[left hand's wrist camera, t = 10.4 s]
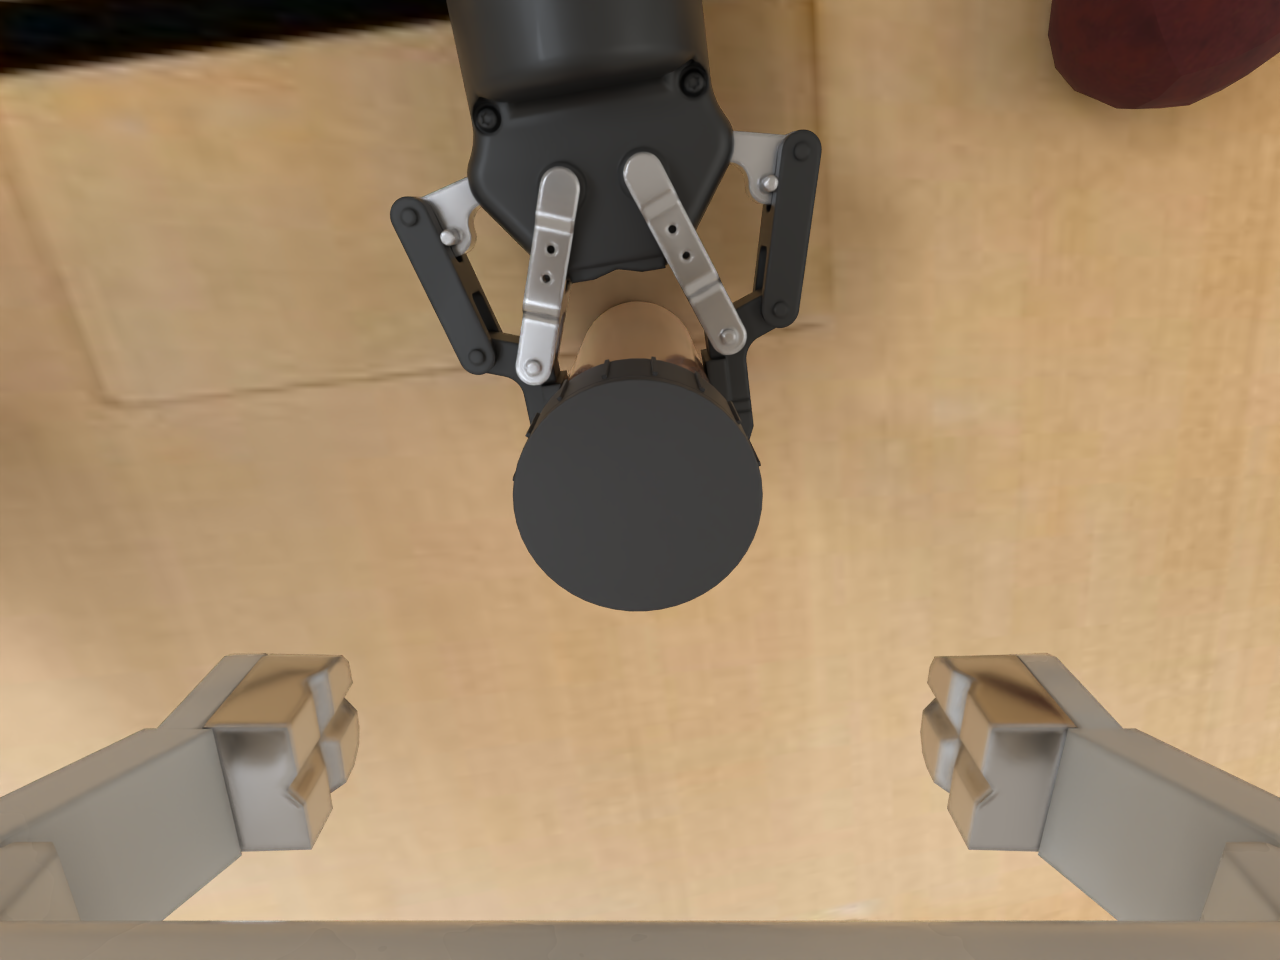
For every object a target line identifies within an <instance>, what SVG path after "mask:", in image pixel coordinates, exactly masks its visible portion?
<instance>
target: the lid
mask: <svg viewBox="0 0 1280 960" xmlns="http://www.w3.org/2000/svg"><path fill="white" fill-rule="evenodd" d="M741 423H742V422H741V420H740V418H739V416H738V414H737V411H736V409H735V407H734V405H733V403H732V402H731V400H730V401H728V402H727V401H726V399H725V398H724V397H723V396H722V395H721V394H720V393H719V392H718V391H717V390H716V388H715V387H714V386H712V385H711V384H710V383H708V382H707V381H706V380H705V379H703V378H702V377H701V376H700V373H699V372H697V371H695V373H693V372H692V371H690V370H688V369H685V368H683V367H680V366H678V365H676V364H672V363H668V362H665V361H661V360H656V357H651V359H646V358H629V359H622V360H615V361H611V362H610V361H609V359H607V360H605V362H604V363H603V364H600V365H597V366H595V367H593V368H590V369H588V370H586V371H584V372H582V373H581V374H579V375H577V376H575V377H574V378H572V379H571V380H570V381H568V379H566V380H565V381H564V382H563V384H562V387H561V388H560V389H559V390H558V391H557V392H556V393H555V394H554V395H553V396H552V397H551V399H550V400H549V401H548V403H547V404H546V405H545V407H544V408H543V410H542V411H541V413H538V412H537V413H536V415H535V417H534V419H533V421H532V423H531V425H530V427H529V430H528V432H527V434H526V437H528V440H527V442H526V444H525V446H524V448H523V450H522V453H521V456H520V458H519V461H518V464H517V468H516V472H515V474H514V476H513V481H514V486H513V505H514V513H515V518H516V523H517V526H518V529H519V532H520V535H521V537H522V540H523V542H524V544H525V545H526V547H527V549H528V551H529V553H530V554H531V556H532V557H533V559H534V560H535V562H536V563H537V564H538V565H539V567H540V568H541V569H542V570H543V571H544V572H545V573H546V574H547V575H548V576H549V577H550V578H551V579H552V580H553V581H555V582H556V583H557V584H558V585H559V586H561V587H562V588H564V589H565V590H567V591H568V592H570V593H571V594H573V595H575V596H577V597H579V598H581V599H583V600H585V601H588V602H590V603H593V604H596V605H599V606H602V607H607V608H611V609H615V610H624V611H651V610H660V609H665V608H669V607H673V606H677V605H680V604H682V603H685V602H688V601H690V600H692V599H694V598H696V597H698V596H700V595H702V594H704V593H706V592H707V591H709V590H710V589H712V588H713V587H715V586H716V585H717V584H719V583H720V582H721V581H722V580H723V579H724V578H726V577H727V576H728V575H729V574H730V573H731V572H732V570H733V569H734V568H735V567H736V566H737V565H738V564H739V562H740V561H741V559H742V558H743V556H744V555H745V554H746V552H747V550H748V548H749V546H750V544H751V543H752V541H753V539H754V536H755V533H756V530H757V527H758V525H759V520H760V515H761V510H762V497H763V492H762V479H761V475H760V470H759V466H761V464H760V461H759V459H758V457H757V455H756V453H755V451H754V448H753V446H752V444H751V442H750V440H749V439H748V438H747V436H746V434H745V432H744V430H743V428H742V426H741Z"/></svg>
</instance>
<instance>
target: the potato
mask: <svg viewBox="0 0 1280 960" xmlns="http://www.w3.org/2000/svg"><path fill="white" fill-rule="evenodd" d="M1048 37H1049V41H1050V45H1051V49H1052V54H1053V59H1054V63H1055V68H1056V69H1057V70H1058V71H1059V73H1060V74H1061V75H1062V76H1063V77H1064V79H1065V80H1066V81H1067V82H1068V83H1069V85H1070V86H1071V87H1072V88H1073V89H1074V90H1075V91H1077V92H1080V93H1082V94H1085V95H1087V96H1089V97H1092V98H1094V99H1096V100H1099V101H1101V102H1103V103H1105V104H1108V105H1110V106H1112V107H1115V108H1120V109H1149V108H1166V107H1176V106H1185V105H1190V104H1192V103H1195V102H1197V101H1199V100H1201V99H1203V98H1205V97H1208V96H1210V95H1212V94H1214V93H1216V92H1218V91H1221V90H1223V89H1224V88H1226V87H1228V86H1229V85H1231V84H1233V83H1234V82H1236V81H1238V80H1239V79H1241V78H1243V77H1244V76H1246V75H1248V74H1249V73H1251V72H1252V71H1253V70H1255V69H1256V68H1258V67H1259V66H1260V65H1262V64H1263V63H1265V62H1266V61H1268V60H1269V59H1270V58H1272V57H1273V56H1275V55H1276V54H1277V53H1279V52H1280V0H1052V6H1051V15H1050V23H1049V31H1048Z"/></svg>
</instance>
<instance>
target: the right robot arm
mask: <svg viewBox="0 0 1280 960" xmlns="http://www.w3.org/2000/svg"><path fill="white" fill-rule="evenodd" d="M446 1H447V6H448V11H449V16H450V20H451V25H452V30H453V35H454V39H455V44H456V49H457V53H458V58H459V63H460V68H461V72H462V77H463V82H464V87H465V91H466V96H467V101H468V105H469V110H470V115H471V120H472V125H473V148H472V153H471V157H470V160H469V164H468V169H467V177H466V178H464V179H461V180H459V181H457V182H455V183H453V184H450V185H448V186H446V187H444V188H441V189H439V190H437V191H435V192H433V193H430V194H428V195H426V196H424V197H402V198H399V199H398V200H396V201H395V202H394V204H393V205H392V208H391V211H390V218H391V222H392V225H393V227H394V229H395V231H396V233H397V235H398V237H399V239H400V241H401V243H402V245H403V247H404V249H405V251H406V253H407V255H408V257H409V259H410V261H411V263H412V265H413V267H414V269H415V271H416V273H417V275H418V278H419V280H420V282H421V284H422V286H423V288H424V290H425V292H426V294H427V296H428V298H429V300H430V302H431V304H432V306H433V308H434V310H435V312H436V314H437V316H438V318H439V320H440V322H441V324H442V326H443V328H444V330H445V332H446V334H447V336H448V339H449V341H450V343H451V345H452V347H453V349H454V351H455V353H456V355H457V357H458V359H459V361H460V363H461V365H462V366H463V368H464V369H465V370H466V371H468V372H469V373H472V374H475V375H481V374H485V373H489V374H495V375H500V376H505V377H509V378H511V379H513V380H514V381H516V382H517V383H518V384H519V385H520V387H521V388H522V390H523V393H524V397H525V401H526V406H527V411H528V415H529V420H530V425H531V423H532V421H533V419H534V417H535V415H536V413H537V412H538V413H541V411H542V410H543V408H544V407H545V405H546V404H547V403H548V401H549V400H550V399H551V397H552V396H553V395H554V394H555V393H556V392H557V391H558V390H559V389H560V388H561V387H562V384H563V382H564V381H565V380H566V379H568V376H567V370H566V371H560V368H559V363H558V357H559V351H560V345H561V339H562V334H563V328H564V322H565V316H566V311H567V307H568V303H569V298H570V292H571V286H572V283H576V282H582V281H589V280H594V279H597V278H599V277H601V276H603V275H605V274H607V273H609V272H612V271H614V270H616V269H622V270H631V271H640V272H643V271H650V270H656V269H662V268H665V265H667V264H669V265H670V267H671V269H672V271H673V273H674V275H675V277H676V279H677V280H678V282H679V284H680V286H681V288H682V290H683V292H684V293H685V295H686V297H687V299H688V301H689V303H690V305H691V306H692V308H693V310H694V312H695V314H696V316H697V318H698V320H699V321H700V323H701V325H702V327H703V329H704V333H705V341H706V349H703V350H701V354H702V362H703V368H704V371H705V373H706V375H707V378H708V380H709V383H710V384H711V385H712V386H714V387H715V388H716V390H717V391H718V392H719V393H720V394H721V395H722V396H723V397H724V398H725V399H726V401H727V402H728V401H730V400H731V402H732V403H733V405H734V407H735V409H736V411H737V414H738V416H739V418H740V420H741V422H742V423H741V426H742V428H743V430H744V432H745V434H746V436H747V438H748V439H749V440H750V436H751V433H752V429H753V417H752V408H751V400H750V390H749V381H748V372H747V363H746V355H747V351H748V348H749V346H750V345H751V343H752V342H753V341H754V340H755V339H757V338H758V337H760V336H762V335H764V334H765V333H767V332H769V331H771V330H773V329H775V328H784V327H787V326H789V325H790V324H792V323H793V322H794V321H795V319H796V318H797V315H798V312H799V306H800V299H801V292H802V285H803V278H804V271H805V264H806V257H807V250H808V243H809V236H810V229H811V222H812V215H813V208H814V201H815V194H816V187H817V179H818V172H819V165H820V158H821V150H822V149H821V143H820V140H819V139H818V137H817V136H816V135H815V134H814V133H813V132H811V131H808V130H798V131H794V132H791V133H789V134H786V135H778V134H766V133H753V132H741V131H733V129H732V126H731V124H730V122H729V120H728V119H727V117H726V116H725V114H724V113H723V112H722V110H721V109H720V107H719V105H718V103H717V101H716V98H715V96H714V93H713V89H712V85H711V78H710V69H709V60H708V52H707V43H706V34H705V25H704V16H703V7H702V0H446ZM729 164H731V165H734V166H736V167H737V168H738V169H740V171H741V172H742V174H743V176H744V179H745V190H746V193H747V195H748V197H749V198H750V199H751V200H752V201H753V202H755V203H758V204H763V211H762V219H761V228H760V236H759V244H758V253H757V261H756V269H755V278H754V286H753V292H752V293H750V294H748V295H747V296H745V297H743V298H741V299H739V300H738V301H736V302H734V303H732V302H731V300H730V298H729V296H728V294H727V292H726V290H725V288H724V286H723V284H722V282H721V280H720V278H719V275H718V273H717V271H716V269H715V267H714V265H713V263H712V262H711V260H710V258H709V256H708V254H707V252H706V250H705V248H704V246H703V244H702V242H701V240H700V238H699V236H698V234H697V233H696V229H697V227H698V225H699V223H700V221H701V219H702V217H703V215H704V213H705V211H706V209H707V207H708V205H709V203H710V201H711V199H712V197H713V195H714V193H715V191H716V189H717V187H718V185H719V183H720V181H721V179H722V177H723V175H724V173H725V171H726V170H727V168H728V166H729ZM481 207H482V208H483V209H484V210H485V211H486V212H487V213H488V214H489V215H490V216H491V217H492V218H493V219H494V220H495V221H496V222H497V223H498V224H499V225H500V226H501V227H502V228H503V229H504V230H505V231H506V232H507V233H508V234H509V235H510V236H511V237H512V238H513V239H514V240H515V241H516V242H517V243H518V244H519V245H520V246H521V247H522V248H523V249H524V250H525V251H526V252H527V253H528V254H529V255H530V261H529V267H528V274H527V281H526V287H525V294H524V301H523V320H522V327H521V333H520V336H517V335H512V334H506V333H503V332H502V330H501V328H500V326H499V324H498V322H497V319H496V317H495V315H494V313H493V311H492V309H491V307H490V304H489V302H488V300H487V298H486V296H485V294H484V291H483V289H482V287H481V285H480V283H479V281H478V279H477V276H476V274H475V272H474V270H473V268H472V266H471V264H470V261H469V259H468V257H467V255H466V253H468V252H470V251H471V250H472V249H473V248H474V246H475V243H476V237H477V236H476V231H475V228H474V217H475V214H476V212H477V211H478V210H479V209H480V208H481Z"/></svg>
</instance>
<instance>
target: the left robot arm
mask: <svg viewBox="0 0 1280 960" xmlns="http://www.w3.org/2000/svg"><path fill="white" fill-rule="evenodd" d="M352 683H353V681H352V676H351V671H350V666H349V662H348V661H347V660H346V659H345V658H344V657H343V656H342V655H303V654H269V655H268V654H265V653H262V654H232V655H228V656H224V657H223V658H222V659H221V661H220V662H219V663H218V664H217V665H216V666H215V667H214V668H213V669H212V670H211V671H210V672H209V673H208V674H207V675H206V677H205V678H204V679H203V680H202V681H201V682H200V683H199V684H198V685H197V686H196V687H195V688H194V689H193V690H192V691H191V693H190V694H189V695H188V696H187V697H186V698H185V699H184V700H183V701H182V702H181V703H180V704H179V705H178V706H177V708H176V709H175V710H174V711H173V712H172V713H171V714H170V715H169V716H168V717H167V718H166V719H165V720H164V721H163V722H162V724H161V725H160V726H159V727H158V728H157V729H143V730H141V731H138V732H136V733H134V734H132V735H130V736H128V737H126V738H124V739H122V740H120V741H118V742H115V743H113V744H111V745H109V746H107V747H105V748H103V749H101V750H99V751H97V752H95V753H92V754H90V755H88V756H86V757H84V758H82V759H80V760H78V761H76V762H74V763H72V764H69V765H67V766H65V767H63V768H61V769H59V770H57V771H55V772H53V773H51V774H48V775H46V776H44V777H42V778H40V779H38V780H36V781H34V782H32V783H30V784H28V785H25V786H23V787H21V788H19V789H17V790H15V791H13V792H11V793H9V794H7V795H5V796H2V797H0V960H1280V798H1279V797H1277V796H1275V795H1273V794H1271V793H1269V792H1267V791H1265V790H1263V789H1260V788H1258V787H1256V786H1254V785H1252V784H1250V783H1248V782H1246V781H1244V780H1242V779H1240V778H1238V777H1235V776H1233V775H1231V774H1229V773H1227V772H1225V771H1223V770H1221V769H1219V768H1217V767H1215V766H1212V765H1210V764H1208V763H1206V762H1204V761H1202V760H1200V759H1198V758H1196V757H1194V756H1192V755H1190V754H1187V753H1185V752H1183V751H1181V750H1179V749H1177V748H1175V747H1173V746H1171V745H1169V744H1167V743H1165V742H1162V741H1160V740H1158V739H1156V738H1154V737H1152V736H1150V735H1148V734H1146V733H1144V732H1142V731H1139V730H1137V729H1123V728H1122V727H1121V726H1120V725H1119V724H1118V722H1117V721H1116V720H1115V719H1114V718H1113V717H1112V716H1111V715H1110V714H1109V713H1108V712H1107V711H1106V710H1105V709H1104V707H1103V706H1102V705H1101V704H1100V703H1099V702H1098V701H1097V700H1096V699H1095V698H1094V697H1093V696H1092V695H1091V694H1090V692H1089V691H1088V690H1087V689H1086V688H1085V687H1084V686H1083V685H1082V684H1081V683H1080V682H1079V681H1078V680H1077V679H1076V678H1075V676H1074V675H1073V674H1072V673H1071V672H1070V671H1069V670H1068V669H1067V668H1066V667H1065V666H1064V665H1063V664H1062V663H1061V661H1060V660H1059V659H1058V658H1057V657H1055V656H1052V655H1050V654H1048V653H1035V654H1010V655H980V656H935V657H934V659H933V661H932V664H931V666H930V670H929V675H928V681H927V683H928V685H929V687H930V688H931V690H932V692H933V693H934V695H935V697H936V698H935V699H934V700H933V701H932V702H931V703H930V704H929V705H928V706H927V707H926V708H925V709H924V710H923V714H922V723H921V731H920V733H921V743H922V753H923V756H924V760H925V763H926V767H927V769H928V771H929V773H930V775H931V777H932V779H933V781H934V783H936V784H937V785H938V786H940V787H941V788H943V789H944V790H946V791H947V792H948V793H950V794H949V800H948V806H947V809H948V811H949V813H950V815H951V817H952V819H953V820H954V822H955V824H956V826H957V828H958V830H959V832H960V834H961V836H962V838H963V840H964V842H965V843H966V845H967V847H968V849H969V850H1003V851H1039V852H1038V855H1039V856H1040V857H1041V858H1043V859H1044V860H1045V861H1046V862H1047V863H1049V864H1050V865H1051V866H1052V867H1054V868H1055V869H1056V870H1057V871H1058V872H1060V873H1061V874H1062V875H1063V876H1064V877H1066V878H1067V879H1068V880H1069V881H1071V882H1072V883H1073V884H1074V885H1075V886H1077V887H1078V888H1079V889H1080V890H1081V891H1083V892H1084V893H1085V894H1086V895H1088V896H1089V897H1090V898H1091V899H1092V900H1094V901H1095V902H1096V903H1097V904H1098V905H1100V906H1101V907H1102V908H1103V909H1105V910H1106V911H1107V912H1108V913H1109V914H1111V915H1112V916H1113V917H1114V918H1115V919H1117V920H1118V921H162V920H164V919H165V918H166V917H167V916H168V915H170V914H171V913H172V912H173V911H175V910H176V909H177V908H178V907H179V906H181V905H182V904H183V903H184V902H185V901H187V900H188V899H189V898H190V897H192V896H193V895H194V894H195V893H196V892H198V891H199V890H200V889H201V888H202V887H204V886H205V885H206V884H207V883H209V882H210V881H211V880H212V879H213V878H215V877H216V876H217V875H218V874H220V873H221V872H222V871H223V870H224V869H226V868H227V867H228V866H229V865H230V864H232V863H233V862H234V861H235V860H237V859H238V858H239V857H240V856H241V855H242V853H241V851H276V850H310V849H312V848H313V846H314V844H315V842H316V840H317V838H318V836H319V834H320V832H321V830H322V828H323V826H324V824H325V822H326V821H327V819H328V817H329V815H330V813H331V811H332V809H333V806H332V800H331V794H330V793H332V792H333V791H334V790H336V789H337V788H339V787H340V786H342V785H343V784H345V783H346V781H347V779H348V777H349V775H350V773H351V771H352V769H353V767H354V764H355V759H356V755H357V751H358V746H359V721H358V714H357V710H356V709H355V708H354V707H353V706H352V705H351V704H350V703H349V702H348V701H347V700H346V699H345V698H344V697H345V695H346V693H347V692H348V690H349V688H350V687H351V685H352Z"/></svg>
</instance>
